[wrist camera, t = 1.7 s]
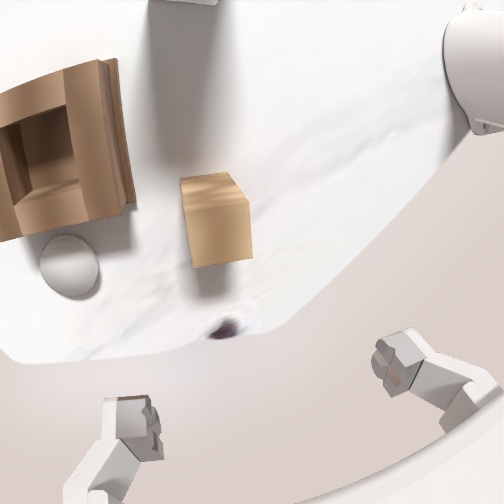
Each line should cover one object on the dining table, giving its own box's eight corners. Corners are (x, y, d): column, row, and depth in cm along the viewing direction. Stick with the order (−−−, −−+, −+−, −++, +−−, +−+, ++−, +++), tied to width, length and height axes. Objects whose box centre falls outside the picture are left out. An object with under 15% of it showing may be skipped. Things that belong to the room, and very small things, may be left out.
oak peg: (227, 171, 26) (248, 201, 19) (230, 214, 28) (252, 258, 21) (180, 178, 25) (183, 211, 18) (186, 222, 27) (193, 268, 20)
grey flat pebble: (89, 227, 25) (85, 234, 24) (106, 283, 28) (104, 291, 27) (36, 240, 24) (30, 247, 23) (56, 291, 27) (52, 300, 26)
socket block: (117, 59, 19) (104, 50, 15) (136, 198, 25) (129, 220, 21) (-5, 100, 17) (-36, 105, 12) (20, 224, 23) (-2, 249, 18)
